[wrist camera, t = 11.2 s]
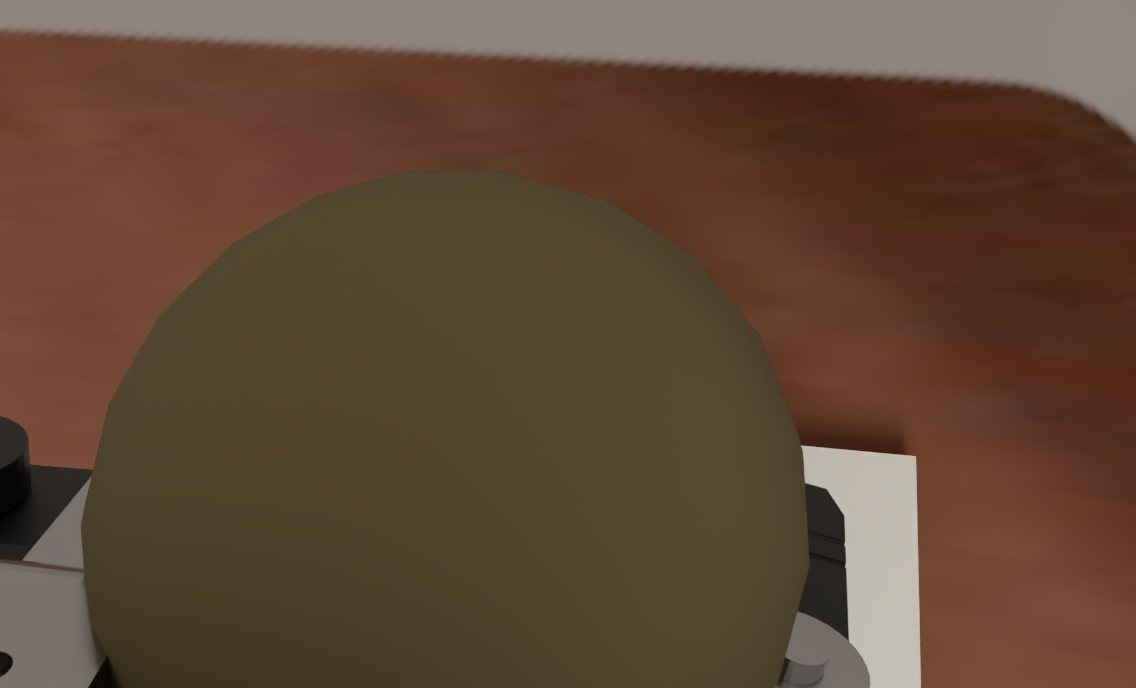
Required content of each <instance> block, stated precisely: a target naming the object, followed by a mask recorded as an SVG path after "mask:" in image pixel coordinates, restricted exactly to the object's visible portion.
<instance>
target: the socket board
mask: <svg viewBox="0 0 1136 688" xmlns="http://www.w3.org/2000/svg"><path fill="white" fill-rule="evenodd" d="M801 447H802V451H803V459H804V476H805V483H807V484H810V485H814V486H818V487H821V488H825V489H827V490H828V492H829V493H830V495H831V496H832V498H833V499H834V501H835V502H836V504H837V505H838V507H839V508H840V510H841V511H842V513H843V514H844V520H845V544H844V546H845V547H846V564H845V568H846V575H847V602H848V629H849V642H850V643H851V644H852V645H853V646H854V647H855V648H856V650H857V651H858V652H859V654H860V655H861V656H862V658H863V660H864V662H865V664H866V666H867V668H868V672H869V675H870V688H921V670H920V623H919V575H918V528H917V481H916V456H908V455H897V454H886V453H876V452H865V451H854V450H844V449H833V448H822V447H812V446H801Z"/></svg>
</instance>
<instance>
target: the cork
mask: <svg viewBox="0 0 1136 688" xmlns="http://www.w3.org/2000/svg"><path fill="white" fill-rule="evenodd" d="M81 538H82V552H83V565H84V579H85V587H86V594H87V602H88V609H89V617H90V624H91V627H92V629H93V631H94V633H95V634H96V636H97V638H98V640H99V641H100V643H101V645H102V646H103V648H104V650H105V652H106V653H107V655H108V661H109V668H110V674H111V680H112V686H113V688H774V687H775V686H776V684H777V683H778V681H779V678H780V674H781V671H782V667H783V663H784V659H785V656H786V652H787V648H788V645H789V641H790V637H791V633H792V630H793V626H794V622H795V619H796V615H797V611H798V607H799V604H800V600H801V596H802V592H803V589H804V585H805V581H806V578H807V574H808V570H809V566H810V561H809V544H808V527H807V510H806V493H805V476H804V459H803V451H802V447H801V443H800V439H799V435H798V432H797V429H796V427H795V424H794V422H793V419H792V417H791V414H790V412H789V409H788V407H787V404H786V402H785V399H784V397H783V394H782V392H781V389H780V387H779V384H778V382H777V379H776V377H775V374H774V372H773V369H772V367H771V364H770V362H769V359H768V357H767V354H766V352H765V349H764V347H763V344H762V342H761V339H760V337H759V334H758V333H757V331H756V330H755V329H754V328H753V327H752V325H751V324H750V323H749V322H748V321H747V319H746V318H745V317H744V316H743V315H742V313H741V312H740V311H739V310H738V309H737V307H736V306H735V305H734V304H733V303H732V301H731V300H730V299H729V298H728V297H727V295H726V294H725V293H724V292H723V291H722V289H721V288H720V287H719V286H718V285H717V283H716V282H715V281H714V280H713V279H712V277H711V276H710V275H709V274H708V273H707V271H706V270H705V269H704V268H703V267H702V265H701V264H700V263H699V262H698V261H697V259H696V258H695V257H694V256H693V255H692V254H690V253H689V252H687V251H685V250H684V249H682V248H681V247H679V246H678V245H676V244H675V243H673V242H671V241H670V240H668V239H667V238H665V237H664V236H662V235H660V234H659V233H657V232H656V231H654V230H653V229H651V228H650V227H648V226H646V225H645V224H643V223H642V222H640V221H639V220H637V219H636V218H634V217H632V216H631V215H629V214H628V213H626V212H625V211H623V210H622V209H620V208H618V207H617V206H615V205H614V204H612V203H611V202H608V201H604V200H601V199H597V198H594V197H590V196H587V195H583V194H580V193H576V192H573V191H569V190H566V189H562V188H559V187H556V186H552V185H549V184H545V183H542V182H538V181H535V180H531V179H528V178H524V177H521V176H517V175H513V174H509V173H505V172H409V171H408V172H404V173H400V174H397V175H393V176H389V177H385V178H382V179H378V180H374V181H370V182H367V183H363V184H359V185H356V186H352V187H348V188H344V189H341V190H337V191H333V192H329V193H326V194H322V195H318V196H315V197H313V198H312V199H310V200H308V201H307V202H305V203H303V204H301V205H300V206H298V207H296V208H294V209H293V210H291V211H289V212H287V213H286V214H284V215H282V216H280V217H279V218H277V219H275V220H273V221H272V222H270V223H268V224H266V225H265V226H263V227H261V228H259V229H258V230H256V231H254V232H252V233H251V234H249V235H247V236H245V237H244V238H242V239H240V240H238V241H237V242H235V243H233V244H231V245H230V246H229V247H228V248H227V249H226V250H225V251H224V252H223V253H222V254H221V255H220V256H219V257H218V258H217V259H216V260H215V261H214V262H213V263H212V264H211V265H210V266H209V267H208V268H207V269H206V270H205V271H204V272H203V273H202V274H201V275H200V276H199V277H198V278H197V279H196V280H195V281H194V282H193V283H192V284H191V285H190V286H189V287H188V288H187V289H186V290H185V291H184V292H183V293H182V294H181V295H180V296H179V297H178V298H177V299H176V300H175V301H174V302H173V303H172V304H171V305H170V306H169V307H168V308H167V309H166V310H165V311H164V312H163V313H162V314H161V315H160V316H159V318H158V320H157V321H156V323H155V325H154V326H153V328H152V330H151V332H150V333H149V335H148V337H147V339H146V340H145V342H144V344H143V346H142V347H141V349H140V351H139V353H138V354H137V356H136V358H135V359H134V361H133V363H132V365H131V366H130V368H129V370H128V372H127V373H126V375H125V377H124V379H123V380H122V382H121V384H120V385H119V387H118V389H117V391H116V392H115V394H114V396H113V398H112V399H111V401H110V403H109V406H108V410H107V414H106V418H105V423H104V427H103V431H102V435H101V439H100V443H99V447H98V452H97V456H96V460H95V464H94V468H93V472H92V476H91V481H90V485H89V489H88V493H87V497H86V501H85V506H84V511H83V516H82V522H81Z"/></svg>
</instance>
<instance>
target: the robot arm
mask: <svg viewBox="0 0 1136 688" xmlns="http://www.w3.org/2000/svg"><path fill="white" fill-rule="evenodd" d="M92 472H93V470H86V469H74V468H63V467H51V466H39V465H30V456H29V442H28V436H27V433H26V431H25V430H24V428H22V427H21V426H20V425H19V424H17V423H16V422H14V421H12V420H10V419H7V418H4V417H1V416H0V688H113V686H112V680H111V674H110V668H109V661H108V655H107V653H106V652H105V650H104V648H103V646H102V645H101V643H100V641H99V640H98V638H97V636H96V634H95V633H94V631H93V629H92V627H91V624H90V617H89V609H88V602H87V594H86V587H85V579H84V565H83V552H82V538H81V522H82V516H83V511H84V506H85V501H86V497H87V493H88V489H89V485H90V481H91V476H92ZM805 493H806V510H807V527H808V544H809V561H810V566H809V570H808V574H807V578H806V581H805V585H804V589H803V592H802V596H801V600H800V604H799V607H798V611H797V615H796V619H795V622H794V626H793V630H792V633H791V637H790V641H789V645H788V648H787V652H786V656H785V659H784V663H783V667H782V671H781V674H780V678H779V681H778V683H777V684H776V686H775V687H774V688H870V675H869V672H868V668H867V666H866V664H865V662H864V660H863V658H862V656H861V655H860V654H859V652H858V651H857V650H856V648H855V647H854V646H853V645H852V644H851V643H850V642H849V629H848V602H847V575H846V568H845V564H846V547H845V546H844V544H845V520H844V514H843V513H842V511H841V510H840V508H839V507H838V505H837V504H836V502H835V501H834V499H833V498H832V496H831V495H830V493H829V492H828V490H827V489H825V488H821V487H818V486H814V485H810V484H807V483H805Z"/></svg>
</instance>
